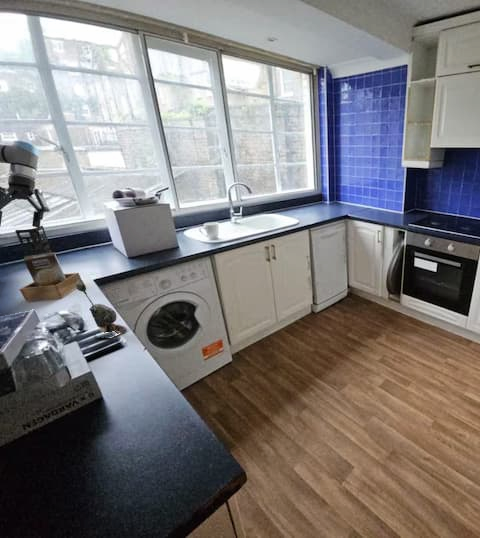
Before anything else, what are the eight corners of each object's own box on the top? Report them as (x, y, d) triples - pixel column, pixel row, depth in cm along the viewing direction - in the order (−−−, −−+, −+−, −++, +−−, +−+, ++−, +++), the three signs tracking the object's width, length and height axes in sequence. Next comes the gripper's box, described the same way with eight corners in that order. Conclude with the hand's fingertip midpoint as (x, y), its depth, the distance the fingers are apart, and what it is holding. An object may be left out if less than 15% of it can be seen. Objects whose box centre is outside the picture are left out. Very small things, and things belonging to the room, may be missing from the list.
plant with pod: (98, 347, 89) (72, 289, 82) (93, 333, 97) (68, 278, 89) (130, 335, 95) (108, 279, 87) (123, 322, 102) (102, 270, 94)
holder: (48, 258, 167) (35, 224, 159) (60, 259, 166) (47, 225, 158) (26, 265, 157) (10, 229, 149) (38, 267, 156) (23, 231, 148)
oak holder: (26, 302, 118) (19, 289, 116) (50, 287, 131) (45, 275, 128) (62, 298, 121) (56, 285, 118) (83, 284, 133) (78, 272, 131)
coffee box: (40, 297, 120) (21, 260, 114) (40, 292, 125) (23, 256, 118) (70, 289, 126) (54, 254, 120) (69, 285, 130) (54, 251, 124)
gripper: (63, 183, 133) (58, 229, 130) (-6, 179, 127) (-12, 227, 125) (50, 176, 125) (44, 225, 123) (-24, 171, 120) (-31, 222, 117)
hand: (16, 226), depth 124 cm, fingers open, 13 cm apart
